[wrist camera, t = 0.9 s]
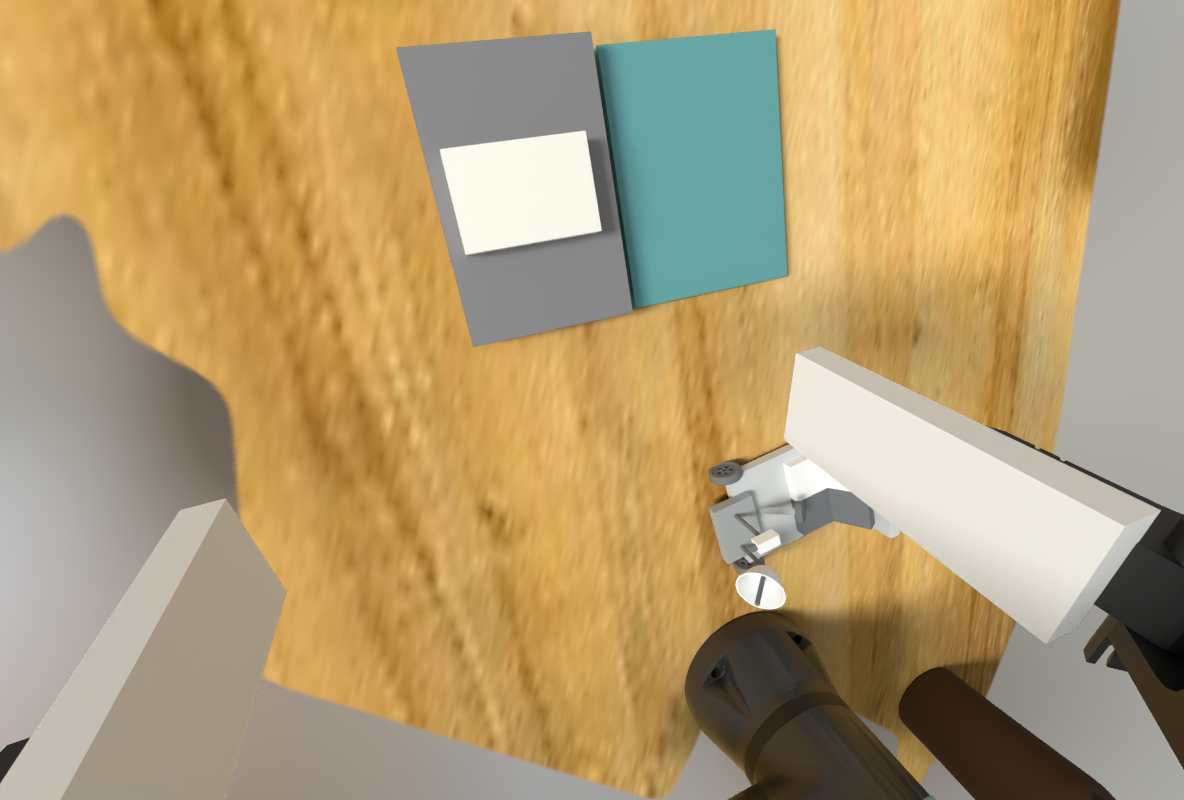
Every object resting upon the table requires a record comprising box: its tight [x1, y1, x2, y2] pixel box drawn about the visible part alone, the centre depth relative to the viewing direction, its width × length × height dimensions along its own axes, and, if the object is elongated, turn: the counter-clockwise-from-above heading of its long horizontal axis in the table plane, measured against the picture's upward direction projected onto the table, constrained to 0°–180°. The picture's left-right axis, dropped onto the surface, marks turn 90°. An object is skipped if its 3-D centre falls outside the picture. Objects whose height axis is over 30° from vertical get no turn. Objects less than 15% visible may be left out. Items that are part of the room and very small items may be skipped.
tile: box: [440, 131, 602, 256], centre depth 30 cm, size 6×9×2 cm, turn 101°
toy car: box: [709, 444, 900, 609], centre depth 42 cm, size 18×10×12 cm
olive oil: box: [899, 668, 1116, 800], centre depth 50 cm, size 11×11×25 cm
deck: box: [396, 32, 633, 347], centre depth 32 cm, size 18×12×3 cm, turn 11°
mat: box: [594, 30, 787, 308], centre depth 36 cm, size 18×14×1 cm
